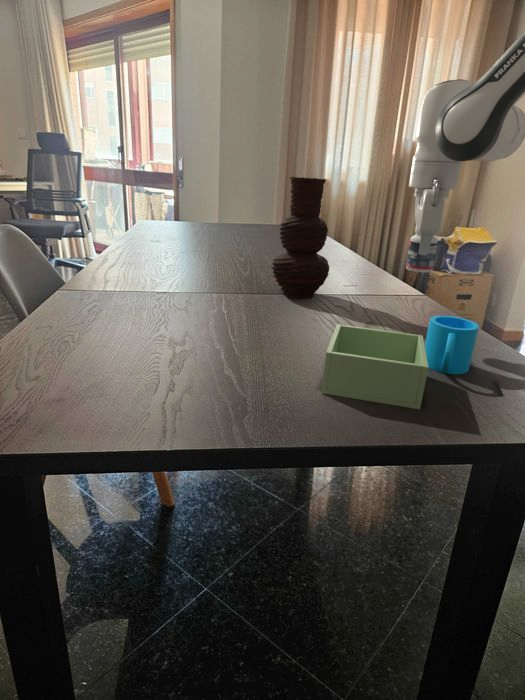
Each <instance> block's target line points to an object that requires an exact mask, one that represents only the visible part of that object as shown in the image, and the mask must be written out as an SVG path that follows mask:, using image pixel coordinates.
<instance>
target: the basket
mask: <svg viewBox="0 0 525 700" xmlns="http://www.w3.org/2000/svg"><path fill="white" fill-rule="evenodd" d="M332 333H333V334H332V336H331V339H330V341H329V344H328V346H327V349H326V351H325V358H324V367H323V374H322V375H323V376H322V385H321V394H324V395H329V396H335V397H341V398H347V399H354V400H360V401H367V402H372V403H377V404H383V405H390V406H395V407H403V408H407V409H415V410H421V407H422V402H423V397H424V392H425V387H426V383H427V378H428V372H429V368H428V362H427V356H426V351H425V340H424V339H425V338H424V336H423V335H422V334H414V333H408V332H399V331H394V330H393V331H392V330H385V329H377V328H371V327H370V328H369V327H362V326H354V325H346V324H339V323H337V324H336V326H335V328H334V331H333V332H332Z"/></svg>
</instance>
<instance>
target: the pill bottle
mask: <svg viewBox="0 0 525 700" xmlns="http://www.w3.org/2000/svg"><path fill="white" fill-rule="evenodd" d="M414 233H415V234H414V235H412V236H411V237H410V239H409V245H408V251H407V256H406V257H407V259H406V265H405V269H406V270H407V271H410V272H415V273H423V274H424V273H425V274H426V273H427V274H428V273H431V272H433V270H434V266H435V260H436V254H437V247H438V244H439V243H438V242H439V241H438V238H437V237H436V236H435V234H433V237H432V241H431V244H430V247H429V253H428V255H420V254H419V252H418V251H419V245H420V237H421V233H420V232H419V230H418V228H417V225H416V224H415V227H414Z"/></svg>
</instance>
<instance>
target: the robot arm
mask: <svg viewBox="0 0 525 700" xmlns="http://www.w3.org/2000/svg"><path fill="white" fill-rule="evenodd" d="M524 96H525V30H524V31H523V32H522V33H521V34H520V35H519V36H518V38H517V39H516V40H515V41H514V42H513V43H512V44H511V45H510V46H509V47H508V48H507V49H506V51H505V52H504V53H503V54H502V55H500V56H499V58H498V59H497V60H496V62H495V63H494V64H493V65H492V66H490V68H489V69H488V70H487V71H486V72H485V73H484V74H483V75H482V76H481V77H480V78H479V79H478V80H476V81H475V82H474V83H472V82H471V81H470V80H469V79H463V78H461V79H460V78H459V79H449V80H445V81H442V82H439V83H437V84H434V86H431V87H430V88H429V89H428V90H427V91H426V94H425V95H424V98H423V101H422V104H421V108H420V112H419V116H418V117H419V118H418V120H417V121H418V122H417V128H416V133H415V134H416V135H415V140H416V149H415V154H414V155H413V157H412V162H411V169H410V174H409V175H410V176H409V182H408V187H409V188H412V189H413V188H414V194H413V197H415V206H414V208H415V209H414V223H415V226H416V225H417V228H418V230H419V232H420V233H421V237H420V245H419V251H418V252H419V254H420V255H428V253H429V247H430V244H431V241H432V237H433V234H434V235H438V234H440V231H441V228H442V224H443V217H444V212H445V204H446V200H447V199H449V196H450V190H451V191H452V190H458V187H459V180H460V174H461V169H462V164H463V162H471V161H477V162H496V161H499V160H503V159H505V158H507V157H510V156H511V155H513V154H514V153H515V152H516V151H517V150H518V149H519V147H520V146H521V145H522V143H523V141H524V139H525V113H524V111H523V110H522V109H521V108H520V107H519V106H517V105H516V104H517V103H518V102H519V101H520V100H521V99H522V98H523V97H524Z"/></svg>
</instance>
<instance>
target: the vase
mask: <svg viewBox="0 0 525 700" xmlns="http://www.w3.org/2000/svg"><path fill="white" fill-rule="evenodd" d="M289 178H290V185H291V187H290V195H291V196H290V205H289V208H290V211H289V213H290V214H289V215H288V216H287V217H286V218H285V219H283V220H282V222H281V223H280V227H279V235H280V236H279V239H280V240H281V241H280V242H281V244H282V246H281V247H282V248H283V249H285V250H286V251H282V252H281V253H280V254H276V258H273V259H272V261H273V262H272V263H271V265H272V266H271V267H270V269H271V270H273V271H272V273H273V275H272V277H273V278H275V282H277V285H278V286H279V287H281V288H280V290H281V291H283V293H282V294H283V295H284V296H285V297H287V298H293V299H297V300H298V299H307V300H308V299H311V298H313V297H314V295H315V293H316V292H317V291H318V290H319V289H320V288H321V287H322V286H323V285H324V283H325V282H326V279H327V278H328V277H329V275H330V273H329V272H330V264H329V260H328V259H327V258H326V257H325V256H323V255H320V254H319V252H320V251H322V249H324V247H325V245H326V241H327V237H328V232H329V228H328V225H327V224H326V222H325V220H324V219H322V218H321V217H320V216H321V212H322V211H321V208H322V199H323V196H324V195H323V194H324V189H325V186H324V185H325V184H326V181H327V178H317V177H314V178H313V177H304V176H302V177H299V176H297V177H296V176H289Z"/></svg>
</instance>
